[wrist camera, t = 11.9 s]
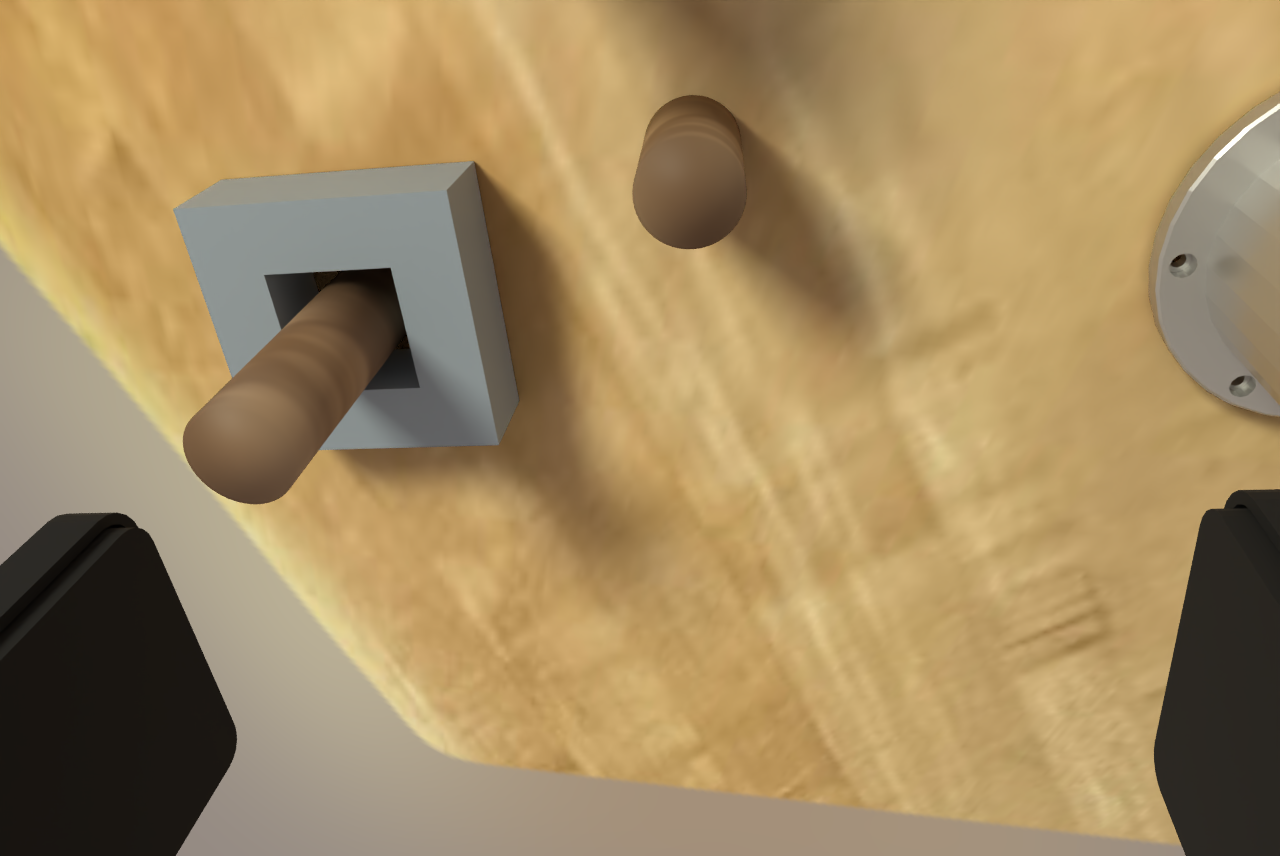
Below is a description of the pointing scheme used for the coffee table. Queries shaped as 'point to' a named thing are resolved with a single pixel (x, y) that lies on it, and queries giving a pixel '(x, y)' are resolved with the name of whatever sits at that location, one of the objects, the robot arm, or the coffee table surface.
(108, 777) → the robot arm
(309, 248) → the hole block
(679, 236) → the short dowel
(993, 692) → the coffee table surface
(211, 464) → the tall dowel
